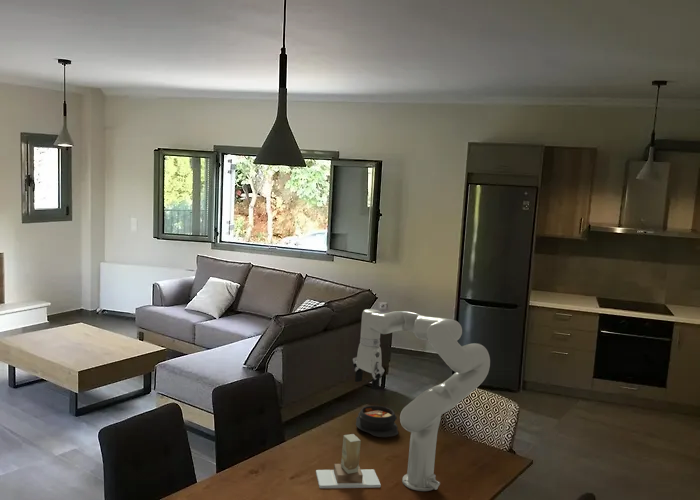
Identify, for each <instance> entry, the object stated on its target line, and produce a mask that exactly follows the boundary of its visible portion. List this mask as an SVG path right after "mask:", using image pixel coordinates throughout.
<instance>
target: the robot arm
mask: <svg viewBox="0 0 700 500" xmlns="http://www.w3.org/2000/svg"><path fill="white" fill-rule="evenodd" d="M399 331H402V332H408V333H409V332H410V333H413V334H414V336H415V338H417V339H418V340H423V341H428V343H429V344H430V346H431V347H432V348H433V350H434V351H435V353H437V354H438V356H439V357H440V359H442V361H444V363H445V364H446V365H447V366H448V367H449V369H451V370H452V371H453V372H454V373H453V374H451V376H449V378H447V379H446V380H444V381H443V382H442V383H439V384H437V385H434V386H432V387H429V388H428V389H426V390H424V391H423V392H422V393H420V394H419V395H417V396H416V397H415V398H414V399H413V400H412V401H410V402H409V403H408V404H406V405H405V406H404V407H403V408H402V410H401V412H400V415H399V421H400V424H401V427H402V428H403V429H404V430H405V431H407V432H409V433H410V436H409V437H410V438H409V448H408V449H409V451H408V460H407V461H408V462H407V472H406V474H404V475H403V476H402V480H401V481H402V484H403V485H404V486H405V487H407V488H408V489H410V490H413V491H417V492H429V491H433V490H438V488H439V486H440V485H441V481H439V480H437V479H436V477H437V476H436V474H435V473H434V472H435V460H436V448H437V441H438V431H439V427H440V423H441V419H442V415H443V414H445V413H448V412H449V411H451V410H452V409H453V408H454V407H456V406H457V405H458V404H459V403H461V401H462V400H464V399H465V398H467V397H468V396H469V395H470V394H471V393H472V392H474V391H475V390H476V389H477V388H478V387H479V386H480V385H481V384H483V382H484V381H485V380H486V378H487V376H488V375H489V371H490V367H491V357H490V354H489V351H488V349H487V348H486V346H484V345H482V344H481V343H477V342H476V343H475V342H474V343H467V344H465V345H461V344H460V343H459V342H458V340H460V339H461V336H462V335H463V328H462V325H461V324H460V322H458V321H457V320H455V319H452V318H445V317H436V316H429V315H422V314H419V313H415V312H411V311H401V310H398V311H397V310H396V311H395V310H394V311H391V312H386V313H382V312H381V311H380V310H378V309H375V308H374V309H373V308H368V309H367V308H366V309H363V311H362V313H361V325H360V336H359V337H360V339H359V344H358V348H357V355H356V356H355V357H353V358H352V362H353V367H354V372H355V378H354V382H356V383H359V382H362V381H363V375H364V371H365V372H367V373H369V374H371V376H372V380H371V389H372V390H378V389H379V387H380V379H381V378H383V377H382V376H383V375H384V373H385V369H384V367H383V366H382V363H383V362H382V348H381V346H380V345H381V335H387V334H391V333H395V332H399Z"/></svg>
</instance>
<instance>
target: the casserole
mask: <svg viewBox="0 0 700 500" xmlns="http://www.w3.org/2000/svg"><path fill="white" fill-rule="evenodd" d="M355 419H356V420H355V421H356V422H355V426H356V428H358V429H359V430H361V431H362V432H366V433H367V434H370V435H372V436H373V437H377V438H391V437H394V436H395V437H396V436H397V435H399V431H398V429H399V428H398V425H397V424H396V422H395V421H397V416H396V414H395V411H394V410H393V409H391V408H389V407H386V406H382V405H368V406H367V405H366V406H365V407H362V408H361V409H360V411H359V412H358V415H357V416H356V417H355Z"/></svg>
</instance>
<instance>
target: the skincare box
mask: <svg viewBox="0 0 700 500" xmlns="http://www.w3.org/2000/svg"><path fill="white" fill-rule="evenodd" d="M361 441H362V440H361V439H360V438H359V437H358V436H357V435H355V434H354V433H351V434H344V435H343V437H342V447H341V448H342V449H341V458H340V459H341V462H340V464H341V467H342V468H343V469H344V470H345V471H346V472H347V473H348V474H350V473H356V472H358V467H360V465H359V463H360V453H361V444H362V443H361Z"/></svg>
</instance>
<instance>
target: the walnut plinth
mask: <svg viewBox="0 0 700 500" xmlns="http://www.w3.org/2000/svg"><path fill="white" fill-rule="evenodd" d="M333 470H334V474H335V477H336V480H337V483H362V479H363V474H362V472H361V470H362V468H361V467H360V466H359V467H358V472H356V473H350V474H348V473H347V472H346V471H345V470H344V469H343V468H342V467H341V463H333Z"/></svg>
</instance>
